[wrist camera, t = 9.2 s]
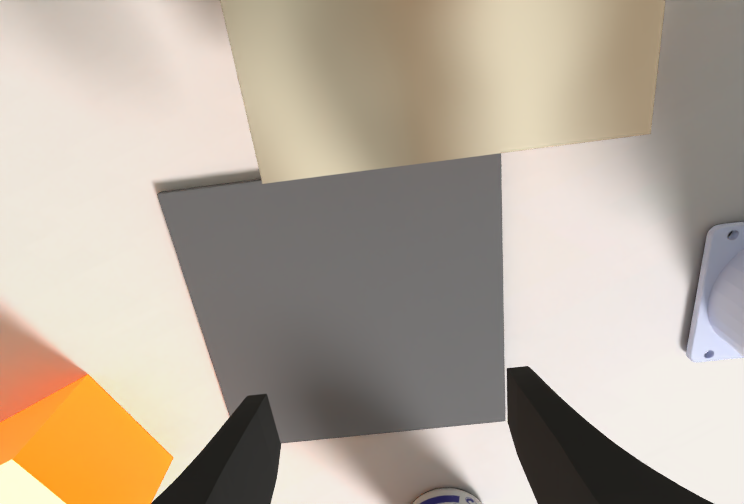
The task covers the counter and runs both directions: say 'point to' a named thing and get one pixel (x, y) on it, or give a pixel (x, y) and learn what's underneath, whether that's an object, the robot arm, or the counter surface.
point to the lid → (437, 78)
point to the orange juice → (78, 452)
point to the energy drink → (447, 497)
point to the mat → (352, 295)
